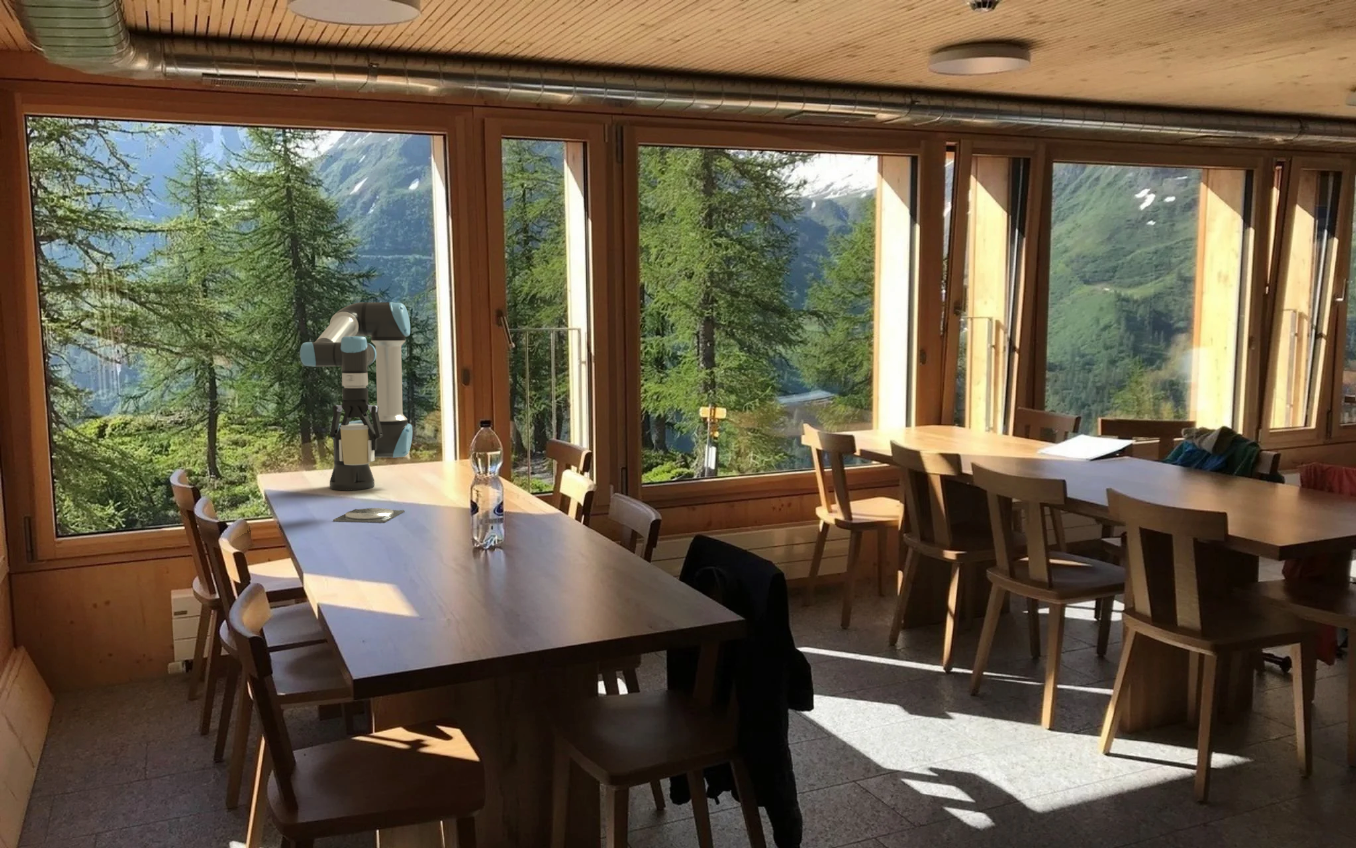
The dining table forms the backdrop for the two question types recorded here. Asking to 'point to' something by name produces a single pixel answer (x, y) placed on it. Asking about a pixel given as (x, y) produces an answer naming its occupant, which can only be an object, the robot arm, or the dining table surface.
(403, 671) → the dining table surface
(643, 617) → the dining table surface
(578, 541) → the dining table surface
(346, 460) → the coffee cup
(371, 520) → the flange plate
